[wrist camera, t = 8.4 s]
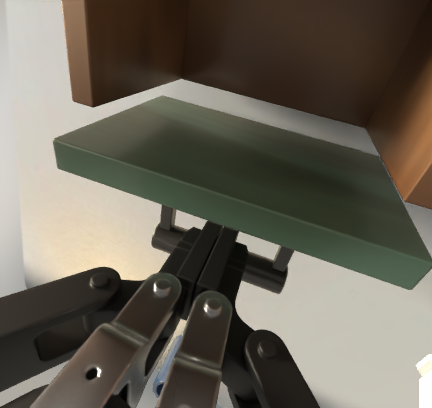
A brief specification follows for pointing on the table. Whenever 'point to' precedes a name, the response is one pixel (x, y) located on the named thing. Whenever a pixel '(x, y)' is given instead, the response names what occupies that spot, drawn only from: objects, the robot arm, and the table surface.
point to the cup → (425, 382)
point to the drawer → (260, 133)
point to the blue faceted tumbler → (165, 367)
